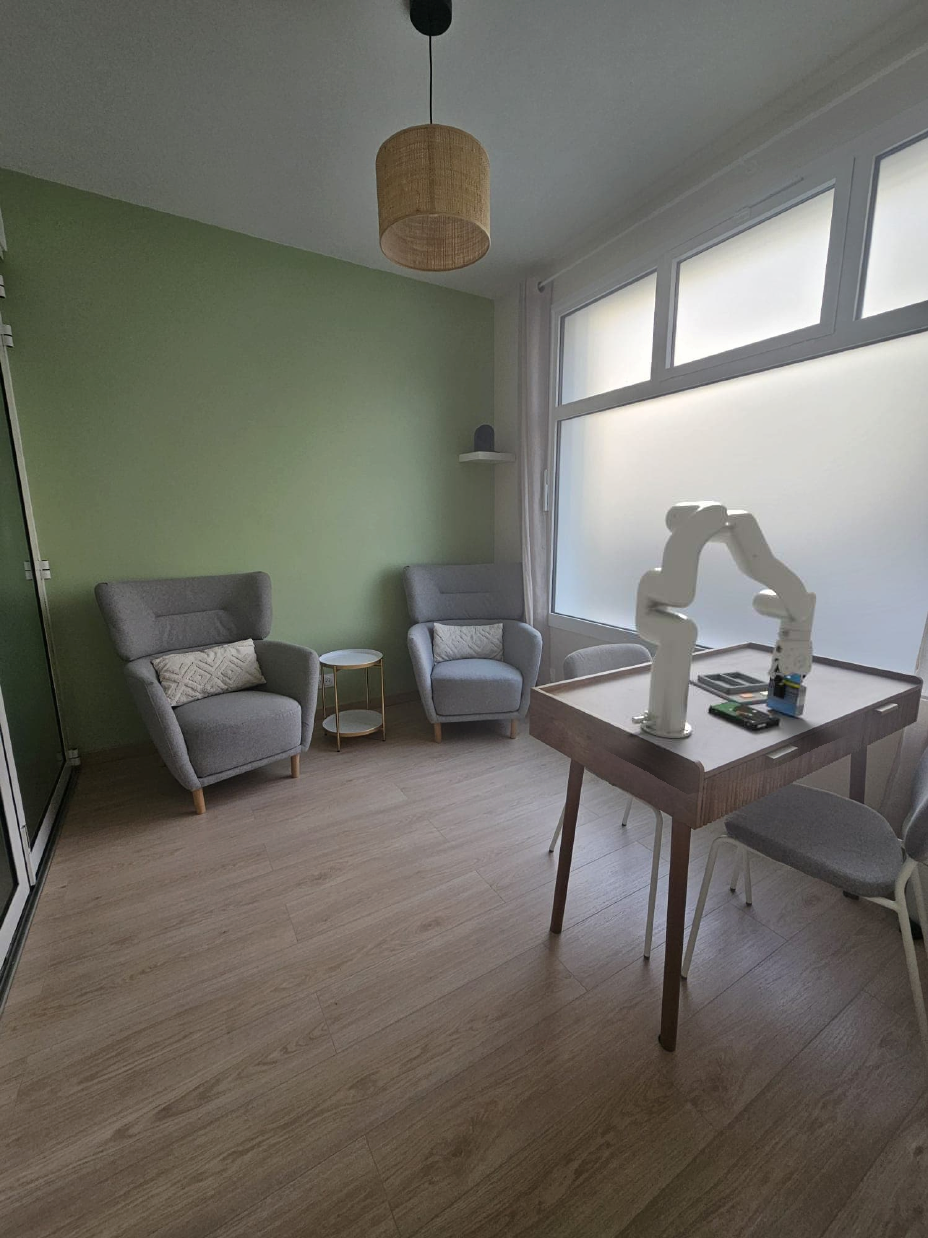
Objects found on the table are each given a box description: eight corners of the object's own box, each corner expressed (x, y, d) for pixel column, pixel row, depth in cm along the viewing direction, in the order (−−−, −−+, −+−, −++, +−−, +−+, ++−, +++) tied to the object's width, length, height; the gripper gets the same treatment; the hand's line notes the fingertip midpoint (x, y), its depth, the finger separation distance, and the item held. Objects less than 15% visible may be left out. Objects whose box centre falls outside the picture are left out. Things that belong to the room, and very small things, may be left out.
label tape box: (803, 715, 143) (810, 673, 141) (794, 717, 141) (801, 675, 139) (773, 705, 151) (779, 665, 148) (764, 706, 149) (770, 666, 147)
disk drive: (779, 727, 138) (732, 708, 151) (781, 718, 137) (733, 699, 151) (753, 734, 134) (706, 714, 147) (755, 724, 133) (707, 705, 147)
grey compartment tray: (739, 705, 152) (740, 696, 152) (689, 682, 173) (689, 674, 172) (792, 698, 157) (793, 689, 157) (737, 677, 178) (738, 669, 178)
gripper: (781, 639, 136) (773, 703, 139) (830, 636, 140) (820, 698, 144) (759, 633, 143) (751, 694, 147) (806, 630, 147) (797, 689, 151)
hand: (785, 695), depth 145 cm, fingers closed on label tape box, 4 cm apart
